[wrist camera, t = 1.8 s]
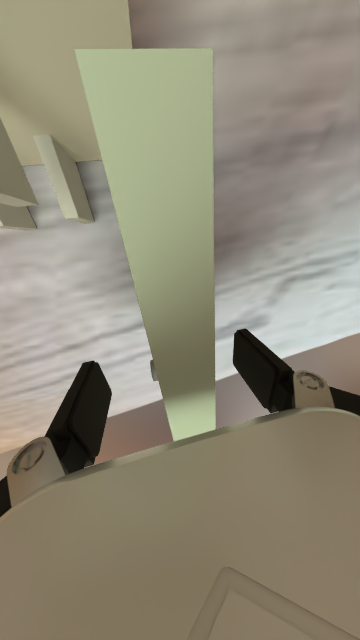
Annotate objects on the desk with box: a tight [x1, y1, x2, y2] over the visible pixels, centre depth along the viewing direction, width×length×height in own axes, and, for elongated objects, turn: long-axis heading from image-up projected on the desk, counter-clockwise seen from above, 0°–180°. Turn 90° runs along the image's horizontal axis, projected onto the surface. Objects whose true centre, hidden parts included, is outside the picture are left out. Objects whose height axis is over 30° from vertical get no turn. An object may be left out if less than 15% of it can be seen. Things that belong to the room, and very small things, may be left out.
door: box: [74, 48, 215, 441], centre depth 14 cm, size 4×18×14 cm, turn 6°
